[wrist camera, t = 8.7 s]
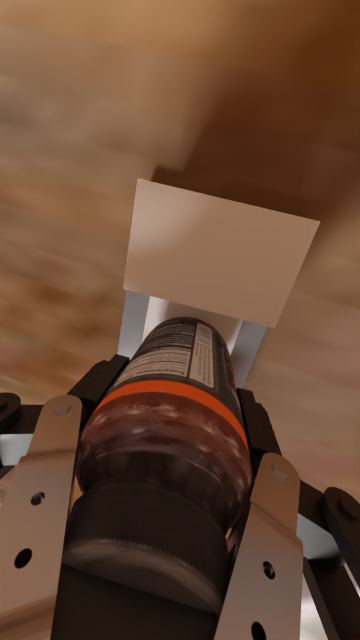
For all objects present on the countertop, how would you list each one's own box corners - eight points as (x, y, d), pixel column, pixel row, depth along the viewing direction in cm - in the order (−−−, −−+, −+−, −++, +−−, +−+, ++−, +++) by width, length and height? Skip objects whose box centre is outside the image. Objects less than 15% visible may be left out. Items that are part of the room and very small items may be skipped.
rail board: (217, 433, 22) (221, 507, 16) (114, 404, 22) (79, 465, 16) (300, 225, 15) (365, 210, 9) (147, 188, 15) (106, 150, 9)
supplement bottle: (227, 391, 15) (267, 706, 5) (148, 386, 16) (34, 649, 6) (231, 313, 14) (311, 554, 3) (141, 312, 14) (-51, 500, 4)
